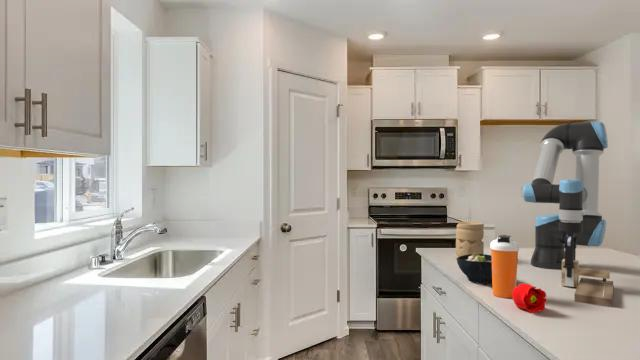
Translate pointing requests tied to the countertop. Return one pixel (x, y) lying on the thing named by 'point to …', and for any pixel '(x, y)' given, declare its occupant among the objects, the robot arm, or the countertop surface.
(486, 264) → the bowl
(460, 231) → the container
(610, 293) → the plank
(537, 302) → the flower
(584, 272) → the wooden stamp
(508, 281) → the shaker bottle
